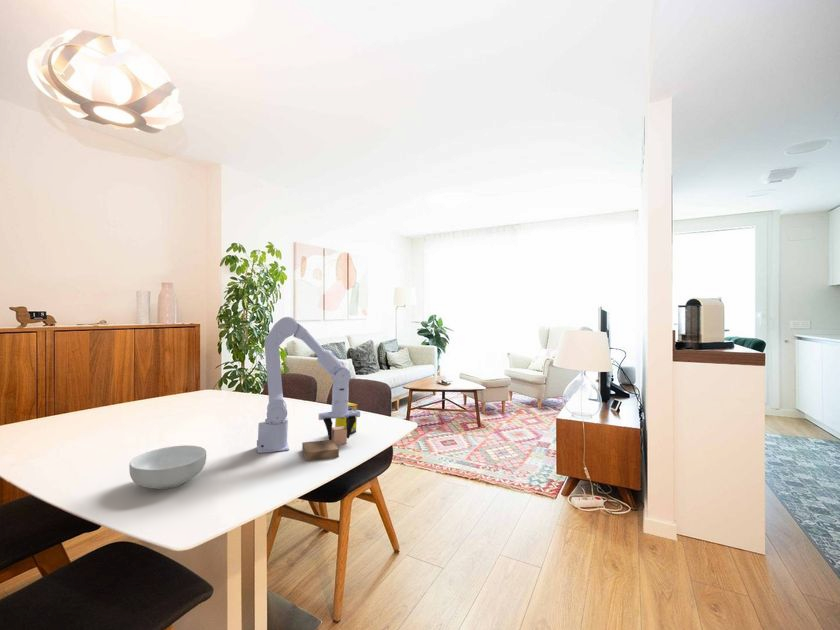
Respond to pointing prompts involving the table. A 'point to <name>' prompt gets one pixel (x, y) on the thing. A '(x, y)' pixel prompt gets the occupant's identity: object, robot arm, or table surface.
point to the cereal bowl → (167, 466)
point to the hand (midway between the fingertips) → (338, 438)
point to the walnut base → (320, 449)
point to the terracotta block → (339, 435)
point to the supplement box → (342, 421)
